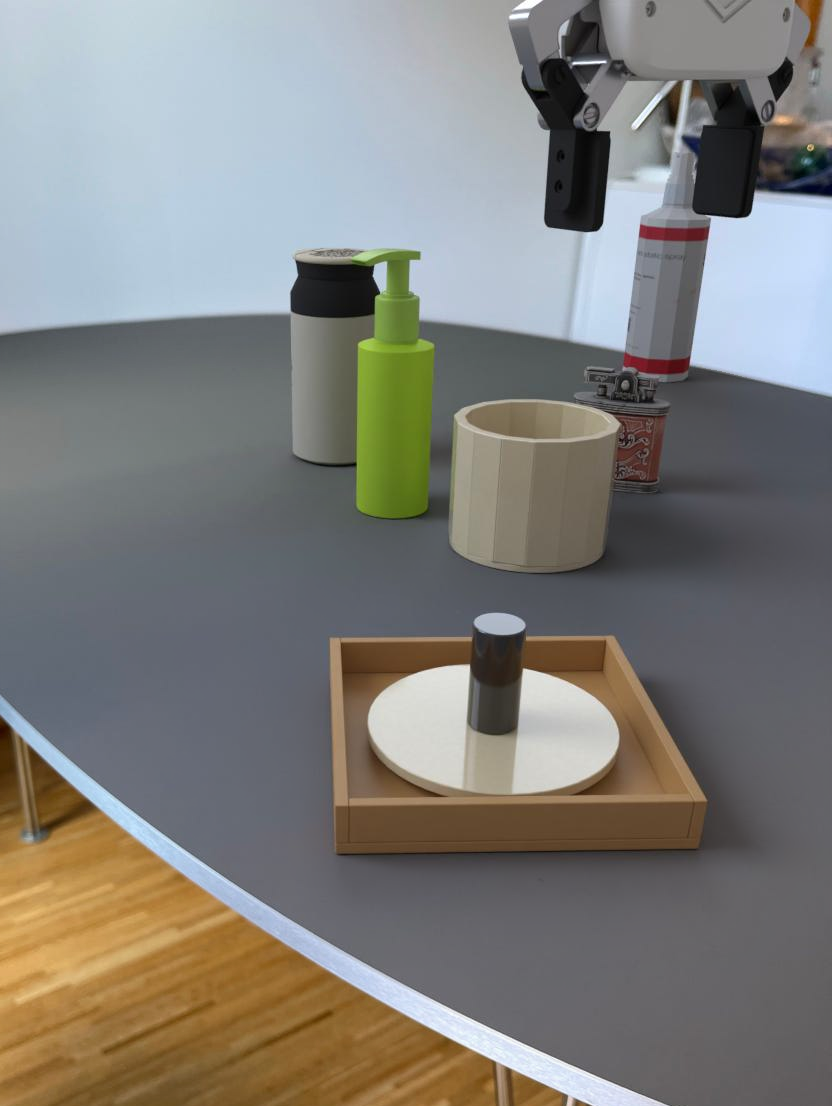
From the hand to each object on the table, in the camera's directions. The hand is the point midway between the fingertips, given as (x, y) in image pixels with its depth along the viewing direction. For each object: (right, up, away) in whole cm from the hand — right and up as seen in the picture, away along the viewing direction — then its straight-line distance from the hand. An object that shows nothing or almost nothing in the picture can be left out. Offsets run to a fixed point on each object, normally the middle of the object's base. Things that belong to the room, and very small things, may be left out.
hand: (649, 222), depth 50 cm
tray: (-7, -25, +4) cm, 27 cm away
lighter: (+9, -6, +43) cm, 45 cm away
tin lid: (-7, -24, +4) cm, 25 cm away
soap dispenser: (-11, -9, +37) cm, 40 cm away
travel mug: (-16, -2, +51) cm, 53 cm away
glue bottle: (+23, +13, +82) cm, 86 cm away
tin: (-1, -12, +31) cm, 33 cm away
